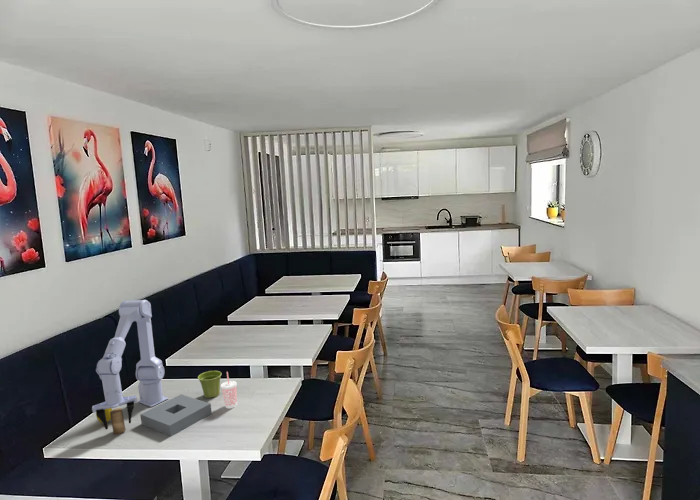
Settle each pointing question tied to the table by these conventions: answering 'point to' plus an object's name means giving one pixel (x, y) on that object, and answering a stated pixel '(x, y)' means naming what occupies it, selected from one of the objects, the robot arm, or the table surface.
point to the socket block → (175, 414)
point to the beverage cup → (229, 393)
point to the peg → (117, 421)
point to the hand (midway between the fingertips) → (118, 425)
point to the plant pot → (210, 383)
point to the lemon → (107, 413)
